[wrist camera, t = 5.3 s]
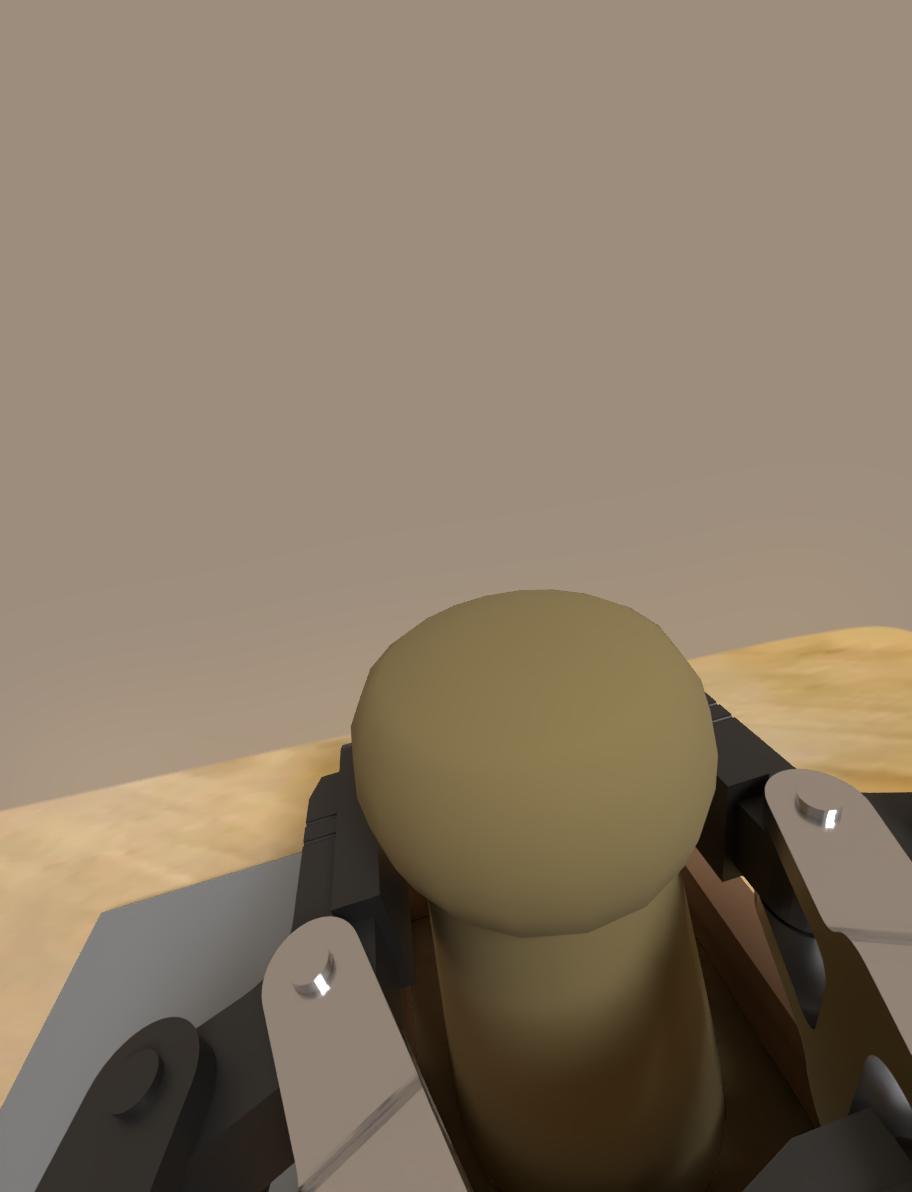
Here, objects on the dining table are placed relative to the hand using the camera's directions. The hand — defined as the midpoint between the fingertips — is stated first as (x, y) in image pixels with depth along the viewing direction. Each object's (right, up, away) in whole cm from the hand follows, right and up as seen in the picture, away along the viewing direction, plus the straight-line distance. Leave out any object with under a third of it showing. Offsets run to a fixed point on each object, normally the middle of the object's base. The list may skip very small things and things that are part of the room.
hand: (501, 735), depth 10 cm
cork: (+2, -7, +1) cm, 8 cm away
